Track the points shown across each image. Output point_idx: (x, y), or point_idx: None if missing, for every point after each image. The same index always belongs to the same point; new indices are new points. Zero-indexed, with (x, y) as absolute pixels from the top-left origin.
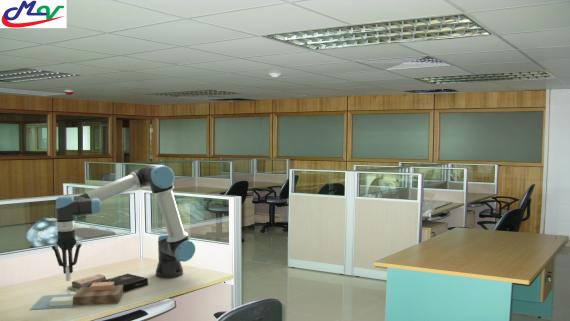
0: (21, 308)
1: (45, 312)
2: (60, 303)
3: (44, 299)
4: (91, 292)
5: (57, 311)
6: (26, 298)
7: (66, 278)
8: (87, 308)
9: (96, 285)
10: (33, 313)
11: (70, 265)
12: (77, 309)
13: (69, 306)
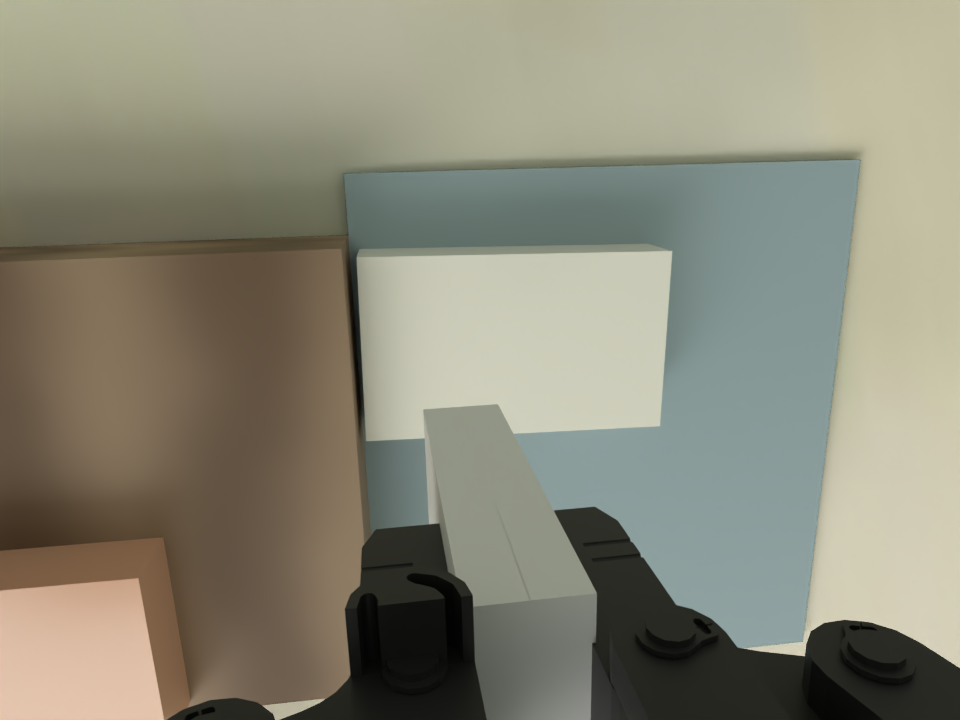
0: (953, 243)
1: (645, 17)
2: (520, 250)
3: (762, 508)
4: (115, 455)
5: (496, 27)
6: (951, 580)
7: (498, 425)
8: (96, 79)
9: (43, 613)
10: (786, 8)
11: (394, 655)
12: (235, 61)
13: (382, 186)
